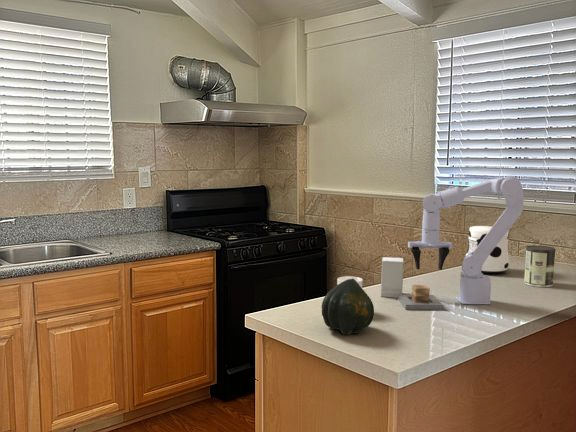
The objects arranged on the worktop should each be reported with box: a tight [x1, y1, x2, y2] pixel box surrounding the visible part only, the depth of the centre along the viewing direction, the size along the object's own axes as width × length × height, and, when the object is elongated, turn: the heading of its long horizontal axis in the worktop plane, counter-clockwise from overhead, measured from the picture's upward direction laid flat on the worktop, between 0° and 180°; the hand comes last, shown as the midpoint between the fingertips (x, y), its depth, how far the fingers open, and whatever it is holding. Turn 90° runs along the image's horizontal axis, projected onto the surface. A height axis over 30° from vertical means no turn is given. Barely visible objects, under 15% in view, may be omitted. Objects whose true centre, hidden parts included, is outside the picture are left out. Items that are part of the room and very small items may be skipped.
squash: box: [321, 278, 375, 336], centre depth 161 cm, size 14×15×15 cm
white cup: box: [336, 275, 364, 289], centre depth 180 cm, size 8×8×10 cm
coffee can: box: [523, 244, 557, 288], centre depth 216 cm, size 10×10×14 cm
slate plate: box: [397, 294, 444, 311], centre depth 188 cm, size 12×12×2 cm
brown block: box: [411, 284, 431, 303], centre depth 187 cm, size 4×4×5 cm
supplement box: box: [380, 256, 405, 299], centre depth 199 cm, size 7×7×13 cm
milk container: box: [465, 225, 510, 274], centre depth 237 cm, size 17×17×18 cm
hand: (428, 268), depth 195 cm, fingers open, 7 cm apart
